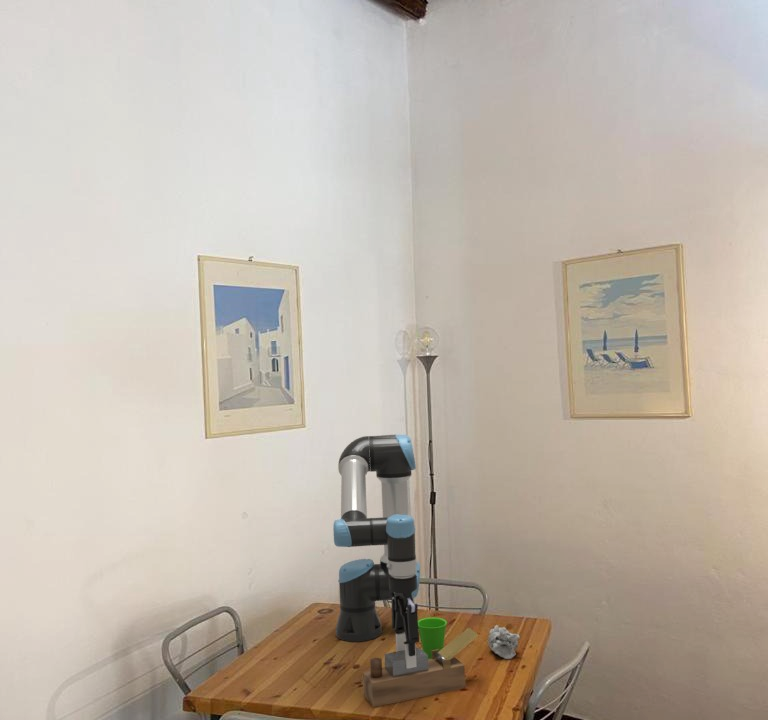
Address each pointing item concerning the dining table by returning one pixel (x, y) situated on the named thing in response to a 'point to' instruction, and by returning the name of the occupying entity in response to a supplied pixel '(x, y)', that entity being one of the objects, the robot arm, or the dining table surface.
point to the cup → (432, 634)
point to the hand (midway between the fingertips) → (406, 662)
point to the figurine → (503, 642)
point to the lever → (456, 645)
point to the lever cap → (397, 663)
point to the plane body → (412, 681)
